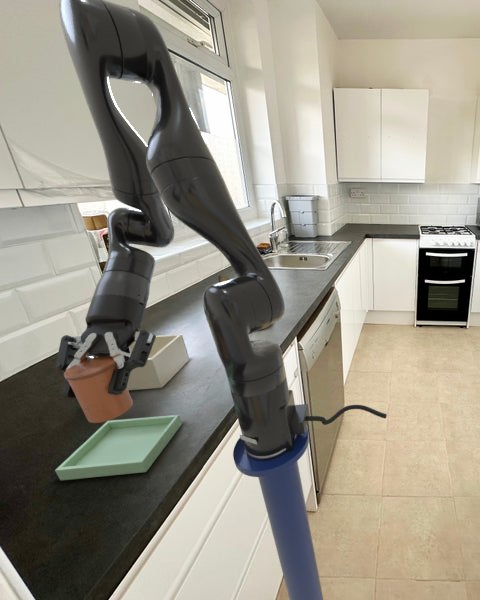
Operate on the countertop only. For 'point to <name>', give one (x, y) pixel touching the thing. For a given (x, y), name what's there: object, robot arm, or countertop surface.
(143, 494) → the countertop surface
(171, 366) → the cream storage bin
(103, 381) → the terracotta pot
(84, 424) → the countertop surface
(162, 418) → the shallow green tray
